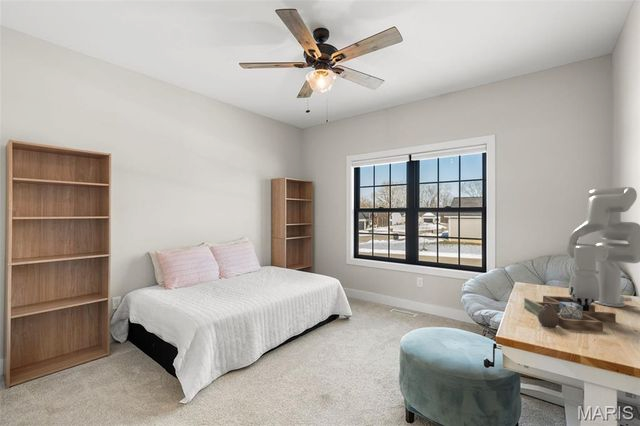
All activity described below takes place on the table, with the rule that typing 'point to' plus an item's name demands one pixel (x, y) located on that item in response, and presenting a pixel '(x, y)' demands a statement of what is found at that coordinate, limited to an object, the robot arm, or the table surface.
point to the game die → (571, 312)
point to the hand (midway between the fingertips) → (584, 313)
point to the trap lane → (589, 323)
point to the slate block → (569, 304)
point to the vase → (548, 316)
